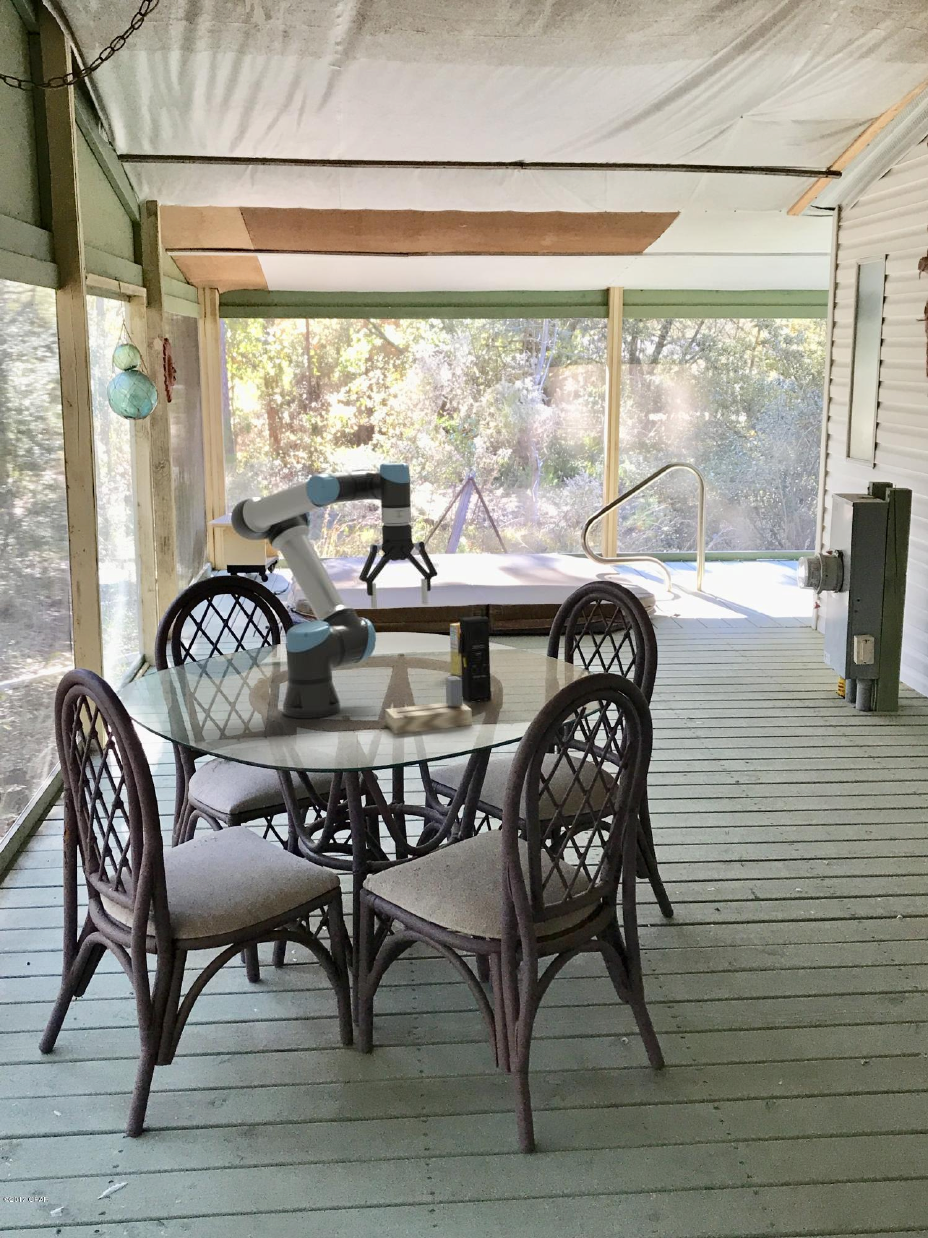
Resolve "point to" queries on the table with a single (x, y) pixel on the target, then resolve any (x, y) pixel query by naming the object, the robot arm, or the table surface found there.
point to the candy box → (455, 649)
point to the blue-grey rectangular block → (454, 691)
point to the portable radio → (475, 658)
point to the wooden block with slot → (427, 717)
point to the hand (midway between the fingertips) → (399, 606)
